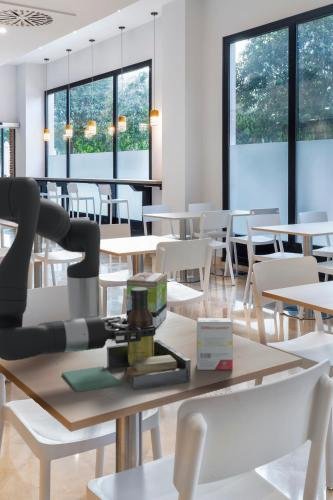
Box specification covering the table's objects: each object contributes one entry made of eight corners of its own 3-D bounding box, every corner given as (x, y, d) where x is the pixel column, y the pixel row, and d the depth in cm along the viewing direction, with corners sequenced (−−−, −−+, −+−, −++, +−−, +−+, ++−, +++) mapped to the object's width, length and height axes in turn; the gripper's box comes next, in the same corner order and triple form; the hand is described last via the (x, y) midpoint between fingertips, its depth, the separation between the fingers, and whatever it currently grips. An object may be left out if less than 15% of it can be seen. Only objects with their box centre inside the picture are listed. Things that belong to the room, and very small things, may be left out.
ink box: (231, 363, 147) (231, 316, 146) (232, 370, 142) (233, 322, 141) (196, 363, 147) (196, 316, 146) (196, 370, 143) (197, 321, 141)
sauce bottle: (136, 364, 147) (135, 284, 144) (158, 367, 144) (158, 286, 142) (122, 371, 141) (121, 289, 139) (146, 375, 139) (145, 291, 136)
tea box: (157, 329, 180) (157, 280, 178) (125, 327, 182) (124, 279, 180) (167, 317, 194) (167, 272, 192) (137, 315, 196) (137, 271, 194)
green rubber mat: (62, 374, 140) (62, 372, 139) (103, 368, 144) (103, 366, 144) (76, 391, 129) (76, 389, 129) (120, 384, 133) (120, 382, 133)
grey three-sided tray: (107, 366, 145) (106, 346, 145) (158, 359, 151) (158, 339, 150) (133, 390, 129) (133, 368, 129) (190, 381, 135) (190, 359, 134)
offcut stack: (125, 378, 137) (125, 359, 136) (169, 372, 141) (169, 353, 141) (135, 387, 131) (135, 367, 130) (180, 380, 136) (180, 361, 135)
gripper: (91, 325, 129) (159, 317, 135) (73, 311, 142) (136, 304, 148) (91, 358, 130) (160, 349, 136) (73, 341, 143) (137, 334, 149)
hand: (147, 326), depth 142 cm, fingers open, 8 cm apart
